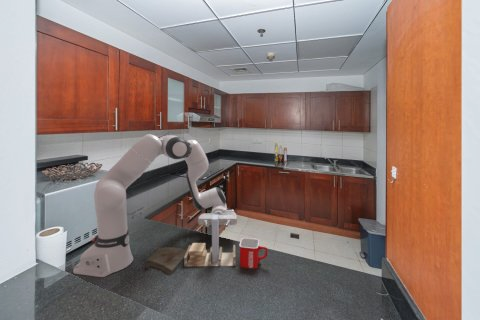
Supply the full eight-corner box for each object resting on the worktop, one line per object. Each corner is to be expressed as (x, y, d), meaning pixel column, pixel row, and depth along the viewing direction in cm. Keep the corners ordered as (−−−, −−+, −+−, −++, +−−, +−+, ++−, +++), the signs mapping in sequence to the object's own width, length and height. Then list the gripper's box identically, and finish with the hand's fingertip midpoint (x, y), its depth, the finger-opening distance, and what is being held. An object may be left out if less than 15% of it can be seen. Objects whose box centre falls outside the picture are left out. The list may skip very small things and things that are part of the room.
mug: (238, 270, 89) (238, 246, 87) (241, 258, 97) (241, 237, 95) (266, 273, 86) (267, 249, 85) (267, 261, 95) (267, 239, 93)
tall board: (212, 262, 91) (211, 219, 89) (213, 255, 97) (213, 214, 94) (217, 262, 91) (217, 219, 89) (218, 255, 97) (218, 214, 94)
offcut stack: (188, 265, 89) (187, 252, 88) (192, 254, 97) (191, 242, 97) (205, 265, 89) (204, 252, 89) (207, 254, 98) (207, 242, 97)
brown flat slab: (172, 279, 83) (172, 269, 83) (139, 274, 86) (139, 265, 85) (190, 255, 99) (189, 247, 99) (162, 252, 102) (162, 244, 102)
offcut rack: (184, 269, 89) (184, 257, 88) (189, 256, 99) (189, 245, 98) (235, 268, 89) (235, 257, 89) (235, 255, 99) (235, 244, 99)
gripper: (199, 209, 114) (195, 219, 100) (236, 209, 115) (237, 219, 101) (200, 220, 115) (195, 231, 101) (236, 220, 116) (237, 231, 102)
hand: (216, 225), depth 101 cm, fingers open, 8 cm apart
